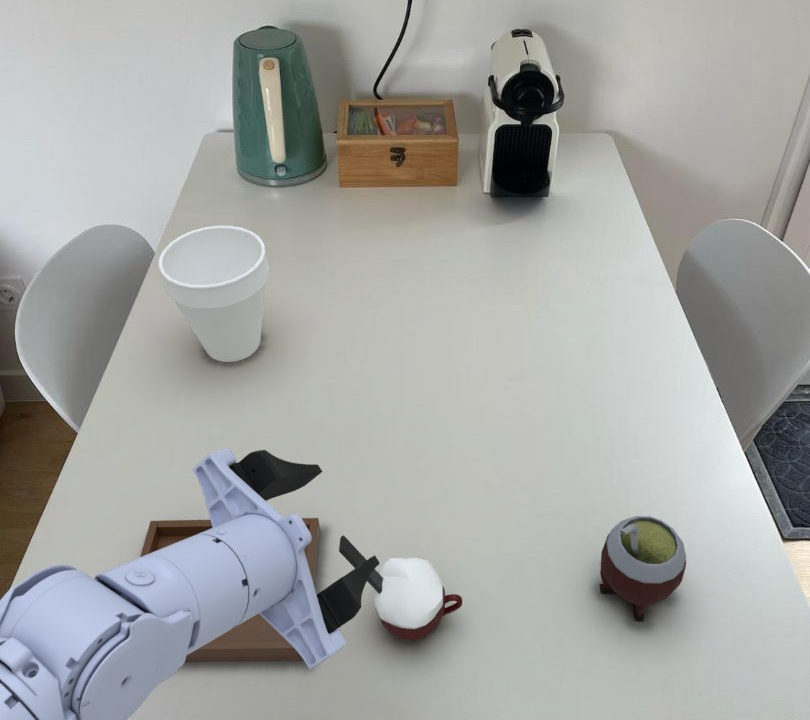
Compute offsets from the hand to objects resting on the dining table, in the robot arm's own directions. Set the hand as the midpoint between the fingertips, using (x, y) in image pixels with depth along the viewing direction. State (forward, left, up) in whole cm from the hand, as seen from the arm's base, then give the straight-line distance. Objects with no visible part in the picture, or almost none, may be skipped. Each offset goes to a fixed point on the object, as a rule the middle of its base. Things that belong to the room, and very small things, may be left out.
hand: (339, 519), depth 58 cm
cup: (+27, +36, -19) cm, 49 cm away
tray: (-1, +14, -19) cm, 24 cm away
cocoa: (+5, -2, -19) cm, 20 cm away
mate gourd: (+17, -19, -19) cm, 32 cm away
